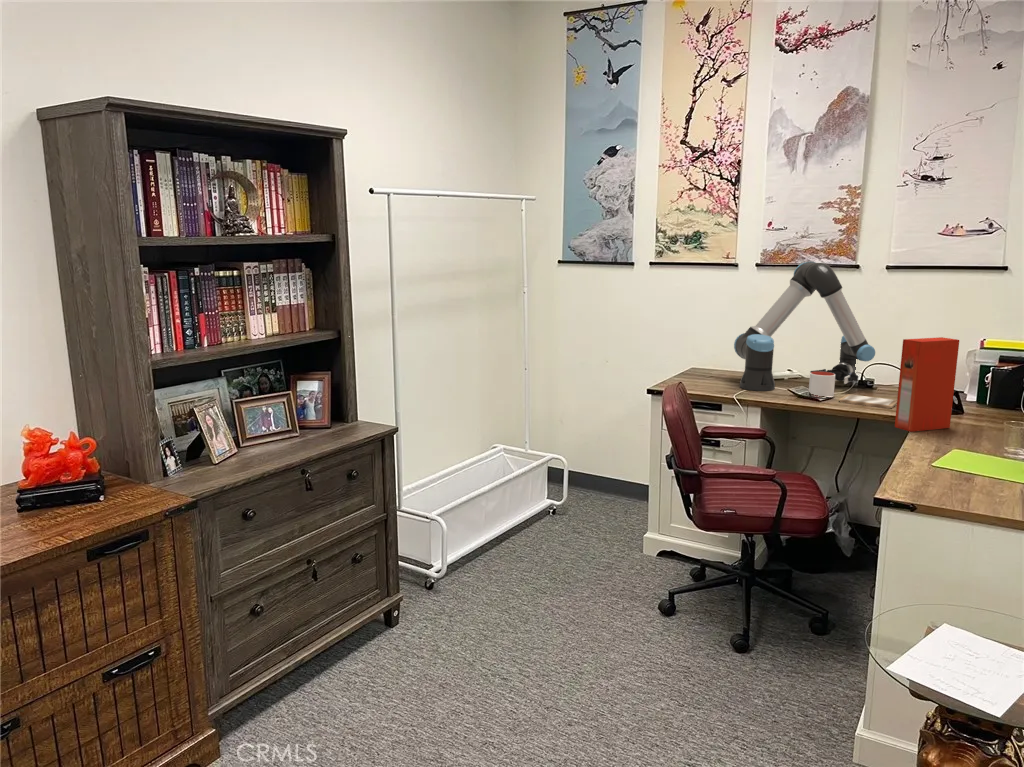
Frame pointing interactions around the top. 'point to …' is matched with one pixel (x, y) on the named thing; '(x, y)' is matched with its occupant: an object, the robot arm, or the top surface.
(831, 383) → the cup
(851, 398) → the writing board
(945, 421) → the file binder
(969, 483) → the top surface
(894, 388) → the top surface
